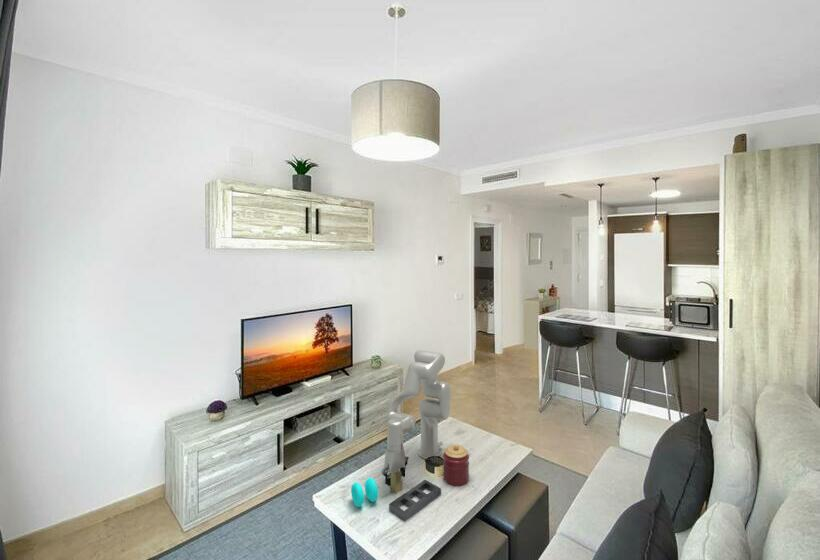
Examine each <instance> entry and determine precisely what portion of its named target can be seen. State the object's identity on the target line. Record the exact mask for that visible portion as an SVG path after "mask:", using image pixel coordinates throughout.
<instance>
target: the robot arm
mask: <svg viewBox="0 0 820 560" xmlns="http://www.w3.org/2000/svg"><path fill="white" fill-rule="evenodd" d="M413 358H414V361H413V362H410V363H409V365H408V368H407V371H406V376H405V379H404V384H403V388H402V390H401V391H400V392H399V393H398V394H396V396H395V397H394V398H393V399H392V401H391V402H390V405H389V408H388V412H387V416H386V423H387V425H386V428H387V429H386V430H387V432H386V434H387V437H386V438H387V439H386V441H387V442H386V443H387V446H386V447H387V449H386V450H385V454H384V465H383V466H384V467H383V468H382V469H381V470H380V472H381V474H382V476H383V477H384V483H385V485H386V486H388V487H390V486H391V478H390V476H391V473H393V472H395V471H397V470H399V471H401V472H402V478H406V469H407V465H408V463H409V462H408V461H409V458H410V457H409V456H407V455H406V451H405V447H404V442H405V440H404V434H405V433H407V432H410V431H412V430H413V429H414V427H415V426H416V417H414V416H413V415H411V414H408V413H404V412H399V411H398V409H399V407H400V405H401V404H402V403H403V402H404V401H406V400H409V399H411V398H416V397H418V396H419V395H420V390H421V392H422V393H421V394H422V395H423V396H425V397H426V398H422V399H420V401H419V403H418V412H419V417H420V448H419V449H418V452H417V454H418V456H419V457H420V458H422V459H424V460H426V459H425V458H427V457H430V456H439V457H440V456H441V450H440V447H442V446H443V444H444V443H443V442H442V441H440V442H439V439H438V438H439V436H438V435H439V433H438V432H439V427H438V425H439V423H438V420H442V421H444V420H448V418H449V417H450V414H451V387H450V385H449V383H448V382H445V381H439V380H438V374H440V372H441V370H442V369H443V368H444V366H445V363H446V359H445V355H444V354H443V353H441V352H436V351H428V350H421V349H420V350H416V351H415V353H414V355H413Z"/></svg>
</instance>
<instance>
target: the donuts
mask: <svg viewBox="0 0 820 560" xmlns="http://www.w3.org/2000/svg"><path fill="white" fill-rule="evenodd" d="M364 492H365V493H364ZM350 493H351V498H352V501H353V504H354V506H356V507H357V508H361V507H362V506H363V505H364V504H365V495H366V497H367V499H368V501H370V502H372V503H374V502H376V501H378V498H379V490H378V486H377V483H376V481H375V479H374V478H373V477H367V479H366V480H365V484H364V489H363V487H362V485H361V484H360V483H359V482H356V481H355V482H353V483H352V485H351V492H350Z"/></svg>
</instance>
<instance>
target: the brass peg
mask: <svg viewBox="0 0 820 560" xmlns="http://www.w3.org/2000/svg"><path fill="white" fill-rule="evenodd" d="M390 478H391V486H389V490H390V491H391V492H393V493H394V494H397V493H399V492H401V491H403V480H402V479H403V477H402V472H401V471H400V469H398V470H397V471H395V472H393V473H391V476H390Z"/></svg>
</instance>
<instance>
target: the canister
mask: <svg viewBox="0 0 820 560" xmlns="http://www.w3.org/2000/svg"><path fill="white" fill-rule="evenodd" d="M442 457H443V461H442V464H443V465H442V466H443V472H442V476H443V480H444V481H445V482H446V483H447V484H448V485H451V486H455V487H458V486H460V487H461V486H464V485H465V484H467V483H468V482H469V479H470V471H469V470H470V468H469V467H470V466H469V465H470V461H469V459H470V455H469V453H468V450H467V449H466V448H465V447H463V446H462V445H459V444H452V445H449V446H447V447H445V449H444V453H443V455H442Z"/></svg>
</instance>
